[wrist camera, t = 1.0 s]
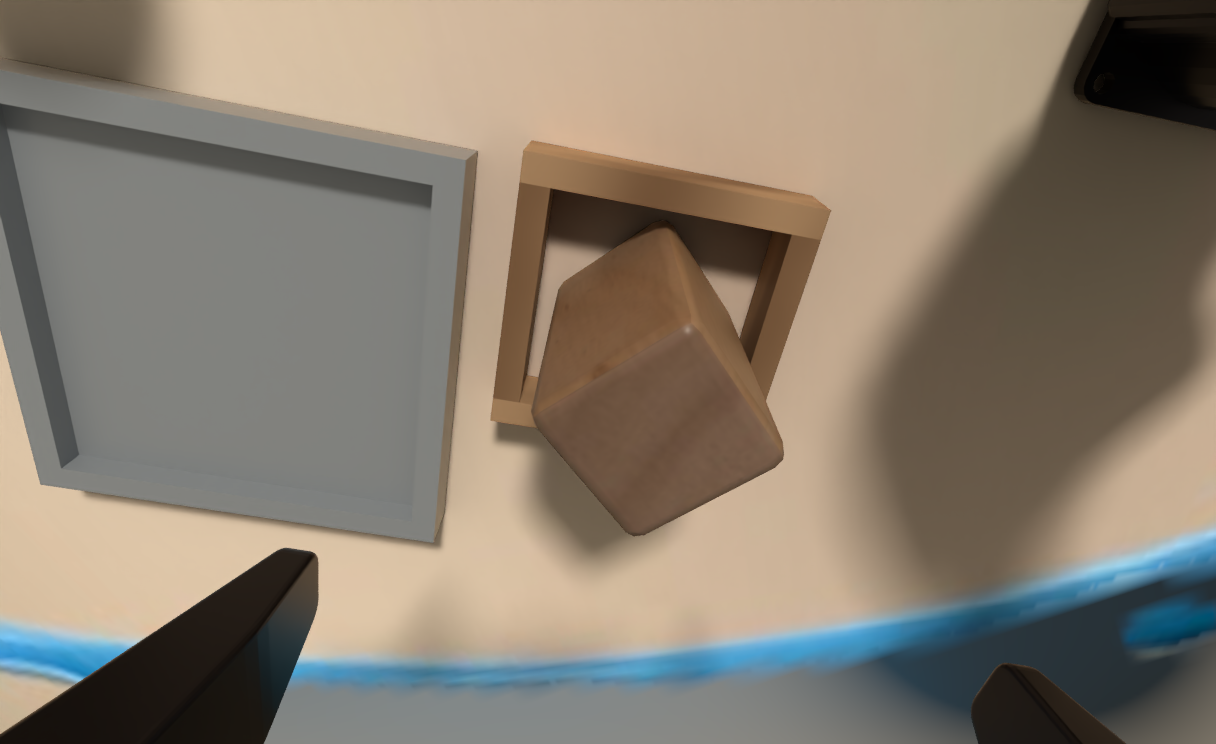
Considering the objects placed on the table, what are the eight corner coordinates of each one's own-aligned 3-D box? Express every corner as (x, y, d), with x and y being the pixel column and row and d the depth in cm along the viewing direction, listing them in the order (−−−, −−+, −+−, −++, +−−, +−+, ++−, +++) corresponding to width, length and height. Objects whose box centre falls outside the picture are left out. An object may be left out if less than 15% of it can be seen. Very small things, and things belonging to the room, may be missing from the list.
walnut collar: (812, 196, 19) (830, 210, 17) (735, 431, 22) (744, 462, 21) (531, 140, 18) (523, 150, 16) (499, 392, 22) (490, 420, 20)
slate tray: (477, 150, 18) (465, 160, 17) (444, 512, 24) (433, 542, 22) (-15, 54, 17) (-72, 56, 16) (76, 457, 23) (40, 484, 22)
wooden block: (553, 284, 20) (520, 420, 13) (664, 211, 19) (695, 314, 12) (625, 380, 21) (631, 549, 14) (732, 317, 20) (796, 465, 13)
